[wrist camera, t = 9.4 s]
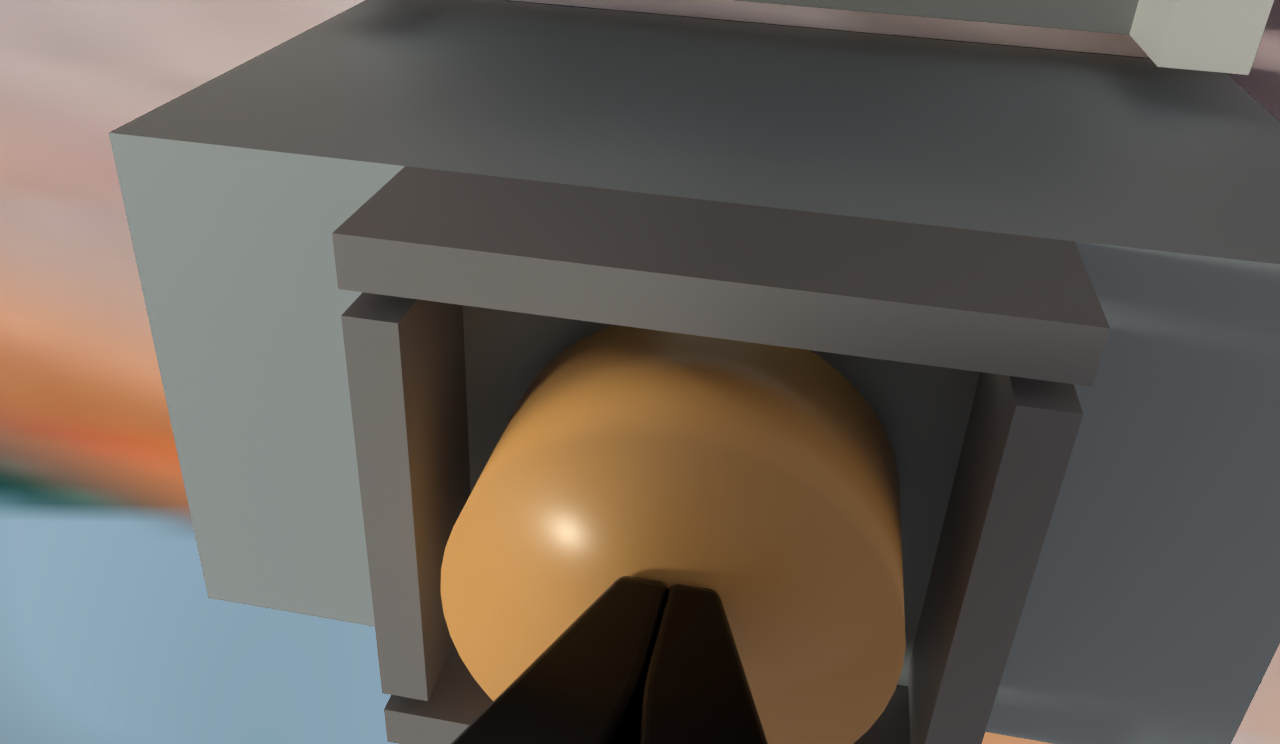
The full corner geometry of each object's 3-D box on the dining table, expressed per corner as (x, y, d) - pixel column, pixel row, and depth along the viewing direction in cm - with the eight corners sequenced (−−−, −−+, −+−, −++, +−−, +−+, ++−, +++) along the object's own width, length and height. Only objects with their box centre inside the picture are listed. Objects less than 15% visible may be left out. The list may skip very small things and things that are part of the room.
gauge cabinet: (1241, 67, 15) (1608, 389, 7) (1119, 430, 18) (1295, 911, 10) (385, -10, 16) (-6, 191, 9) (410, 335, 19) (134, 694, 12)
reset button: (934, 345, 10) (949, 474, 8) (865, 664, 12) (865, 823, 10) (501, 289, 10) (428, 400, 8) (508, 605, 12) (450, 746, 10)
